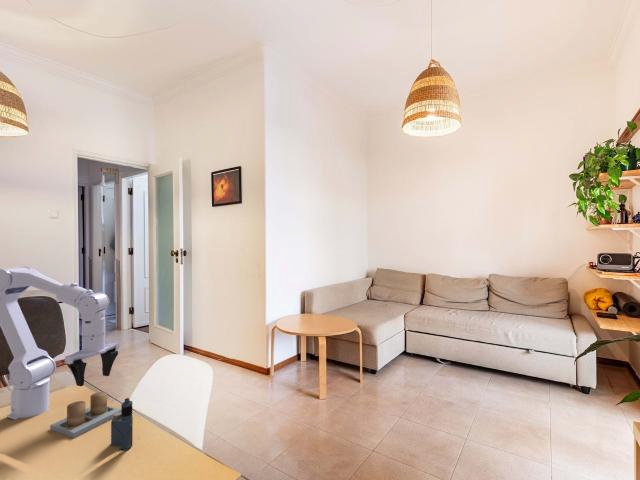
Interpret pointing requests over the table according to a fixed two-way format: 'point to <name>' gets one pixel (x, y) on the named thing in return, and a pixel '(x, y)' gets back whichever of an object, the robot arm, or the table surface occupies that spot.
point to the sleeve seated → (98, 404)
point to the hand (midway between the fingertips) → (93, 380)
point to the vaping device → (122, 426)
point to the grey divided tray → (85, 427)
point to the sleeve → (75, 414)
